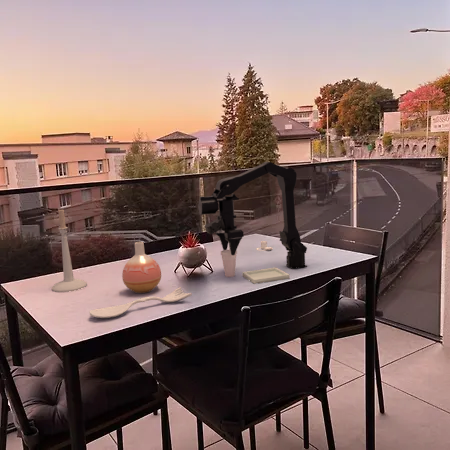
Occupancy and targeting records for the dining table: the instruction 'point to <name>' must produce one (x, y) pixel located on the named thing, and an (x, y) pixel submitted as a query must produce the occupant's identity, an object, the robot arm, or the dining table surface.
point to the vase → (141, 271)
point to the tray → (265, 275)
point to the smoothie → (229, 262)
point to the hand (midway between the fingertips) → (228, 252)
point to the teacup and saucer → (264, 246)
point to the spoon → (121, 309)
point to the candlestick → (66, 263)
